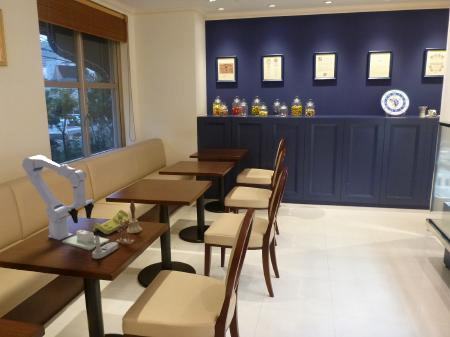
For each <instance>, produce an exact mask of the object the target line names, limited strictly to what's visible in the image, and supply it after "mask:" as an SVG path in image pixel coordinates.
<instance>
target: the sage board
mask: <svg viewBox="0 0 450 337" xmlns="http://www.w3.org/2000/svg"><path fill="white" fill-rule="evenodd" d="M95 236H96V235H94V237H95ZM99 239H100V246H102V245H105V244H108V243H110V239H109V238H104V237H101V236H99ZM62 243H63V244H66V245H70V246H72V247H73V246H74V247H77V248H79V249H80V248H81V249H83V250H87V251H91V250H94V249H96V248H95V247H96V244H95V243H96V241H95V240H94V242H91V243H87V242H83V241H79V240H77V234H76V235H74V236H73V235H72V236H70V237H67V238H66V239H65V238H64V239H62ZM104 243H105V244H104Z"/></svg>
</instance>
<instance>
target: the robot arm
mask: <svg viewBox="0 0 450 337" xmlns="http://www.w3.org/2000/svg"><path fill="white" fill-rule="evenodd" d="M21 166H22V168H23V170H24V171H25V173H26V175H27V178H28V181H30V184H32V186H33V188H34V189H35V190H36V191H37V193H38V195H39V196H40V198H41V199H42V201H43V203H44V204H45V205H46V208H45V213H46V216H47V218H48V220H49V222H48V232H49V235H48V238H50V239H51V238H52V239H54V240H57V241H60V240H64V239H65V238H66V239H67V238H70V237H72V236H73V235H74V234H73V233H70V232H69V226H68V224H69V222H68V218H69V217H68V216H69V215H70V216H71V218H72V221H73V223H74V224H79V220H78V215H79V214H78V213H79V210H78V209H79V208H81V207H84V211H85V217H86V219H89V220H90V219H91V217H92V212H93V209H94V208H95V205H94V204H95V201H94V199H91V198H90V199H87V194H86V187H85V186H86V185H85V180H86V178H87V173H86V172H85V171H84V170H83V169H76V168H73V167H71V166H69V165H68V164H66V163H65V164H59V163H57V162H55V161H52V160H51V159H49V158H47V156H46V155H43V154H37V155H33V156H29V157H25V158H23V160H22V164H21ZM44 168H47V169H49V170H51V171H55V172H57V175H58V176H60V177H63V178H65V179H67V180H68V181H69V182H70V185H71V187H72V194H73V196H72V197H73V203H72V204H69V205H66V204H64V202H63V201H60V200H58V199H57V198H56V196H55V195H54V193H53V192H52V191H51V188H50V186H48V183H46V181H45V179H43V177H42V175H41V174H42V171H43V170H44Z"/></svg>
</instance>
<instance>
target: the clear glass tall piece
mask: <svg viewBox="0 0 450 337" xmlns="http://www.w3.org/2000/svg"><path fill="white" fill-rule="evenodd" d="M122 220H124V223H125V224H123V221H122ZM121 221H122V223H121ZM120 224H121V225H120V226H122V227H121V228H119V226H118V227H117V230H116V231H117V232H118V233H120V232H121V234H120V236H119V238H118V239H116V240H115V242H116V243H118V244H120V243H121V245H127V246H128V245H129V246H131V245H133V244H134V243H135V242H136V240H135V239H132V238H131V237H130V235H129V233H127V230H129V229H130V228H131V224H130V223H128V221H126V220H125V219H121V220H120ZM128 227H130V228H129V229H128ZM123 234H124V235H123ZM122 235H123V237H122Z"/></svg>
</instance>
